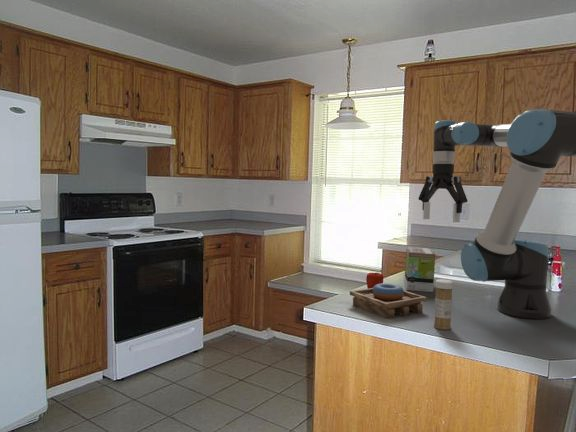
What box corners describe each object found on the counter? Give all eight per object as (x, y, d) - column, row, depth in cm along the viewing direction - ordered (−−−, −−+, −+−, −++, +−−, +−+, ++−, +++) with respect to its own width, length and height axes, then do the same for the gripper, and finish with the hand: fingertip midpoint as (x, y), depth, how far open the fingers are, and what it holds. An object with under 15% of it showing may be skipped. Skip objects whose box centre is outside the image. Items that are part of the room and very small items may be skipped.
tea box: (434, 292, 164) (436, 253, 163) (406, 290, 166) (408, 252, 165) (429, 283, 179) (431, 247, 178) (404, 282, 181) (405, 246, 180)
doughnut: (381, 290, 149) (382, 277, 148) (409, 297, 142) (409, 284, 141) (366, 299, 141) (366, 285, 140) (394, 307, 135) (395, 292, 134)
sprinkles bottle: (446, 325, 126) (448, 278, 125) (453, 330, 121) (455, 282, 120) (431, 325, 126) (433, 278, 125) (437, 330, 121) (439, 282, 120)
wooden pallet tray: (425, 311, 139) (426, 297, 138) (385, 319, 130) (386, 303, 130) (387, 299, 153) (388, 285, 153) (349, 305, 144) (349, 291, 144)
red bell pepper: (374, 295, 158) (374, 275, 157) (362, 291, 163) (362, 271, 162) (386, 293, 161) (387, 273, 160) (374, 289, 166) (375, 270, 166)
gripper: (479, 162, 154) (476, 223, 156) (423, 164, 175) (421, 217, 177) (466, 162, 150) (463, 223, 152) (410, 163, 171) (408, 218, 173)
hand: (440, 220), depth 164 cm, fingers open, 13 cm apart
